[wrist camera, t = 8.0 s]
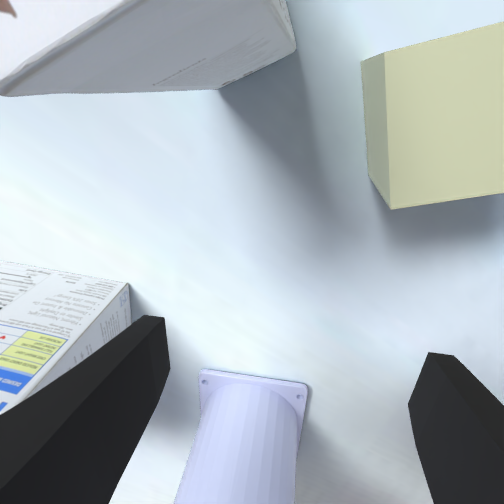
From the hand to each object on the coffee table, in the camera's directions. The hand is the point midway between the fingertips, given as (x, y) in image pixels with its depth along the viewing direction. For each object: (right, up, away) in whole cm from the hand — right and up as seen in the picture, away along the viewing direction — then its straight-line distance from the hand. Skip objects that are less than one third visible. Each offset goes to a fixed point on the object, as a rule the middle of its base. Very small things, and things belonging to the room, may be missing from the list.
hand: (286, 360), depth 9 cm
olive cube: (+7, +9, +5) cm, 13 cm away
